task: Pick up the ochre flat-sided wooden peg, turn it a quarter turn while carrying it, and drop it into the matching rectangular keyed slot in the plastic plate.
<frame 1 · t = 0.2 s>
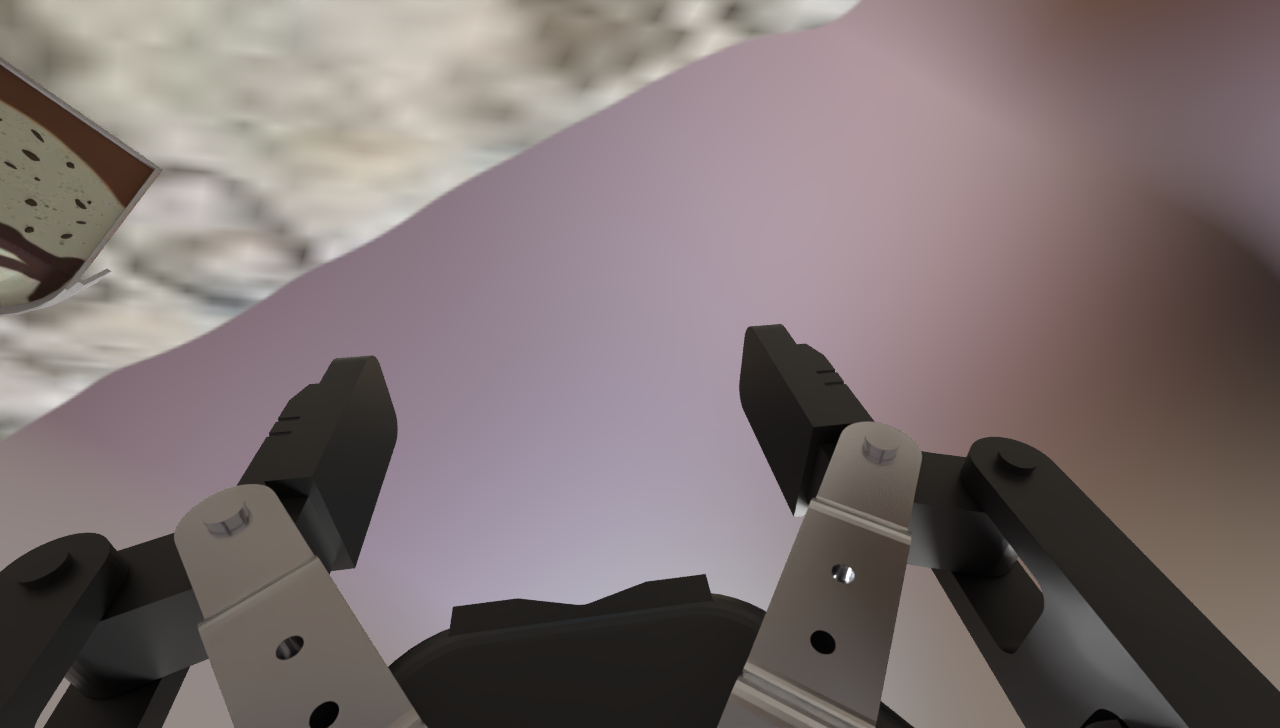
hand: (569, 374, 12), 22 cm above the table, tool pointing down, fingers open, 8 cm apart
food container: (25, 134, 27), on the table
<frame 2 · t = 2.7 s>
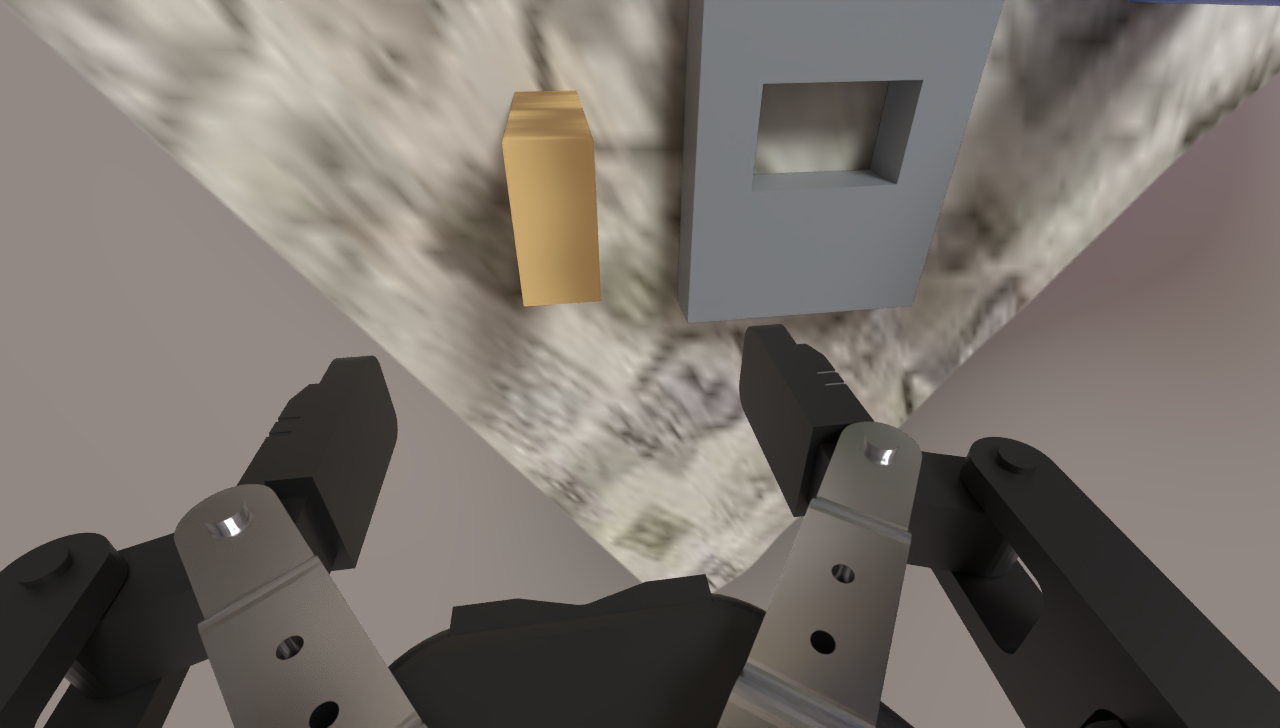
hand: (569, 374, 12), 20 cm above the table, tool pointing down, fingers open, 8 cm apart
keyed peg: (551, 154, 29), on the table
keyed plate: (810, 125, 30), on the table
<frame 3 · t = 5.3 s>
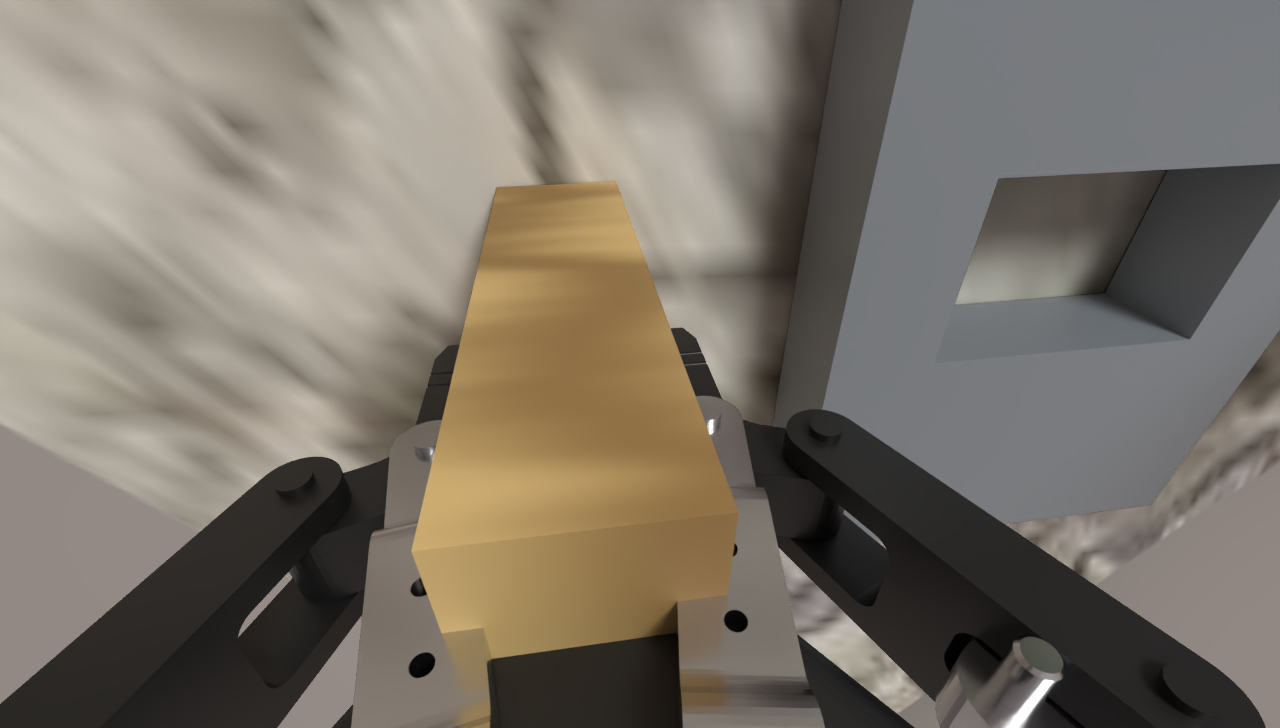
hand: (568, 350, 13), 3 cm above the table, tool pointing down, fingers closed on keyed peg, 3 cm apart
keyed peg: (566, 291, 16), on the table, touching gripper
keyed plate: (1024, 228, 17), on the table
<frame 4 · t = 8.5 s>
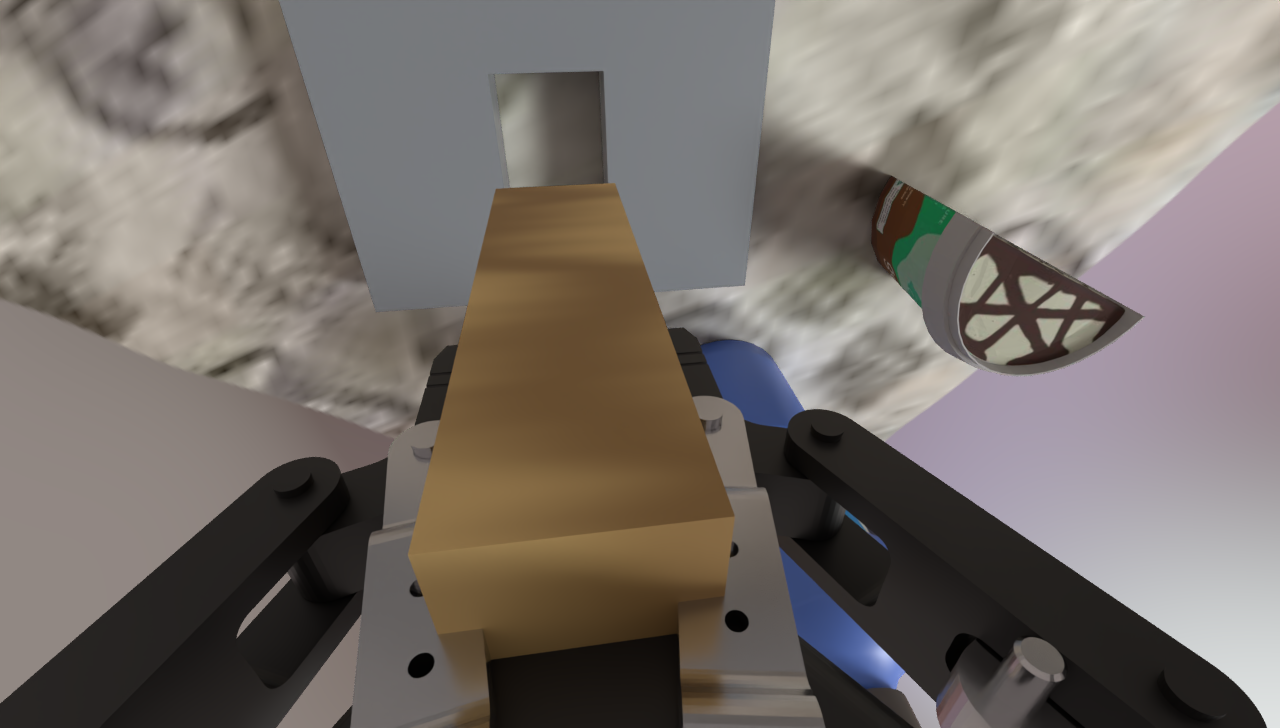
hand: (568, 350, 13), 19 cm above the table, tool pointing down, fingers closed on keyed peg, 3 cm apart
keyed peg: (565, 292, 16), point 16 cm above the table, touching gripper
keyed plate: (554, 151, 29), on the table
water bottle: (717, 392, 40), on the table
food container: (912, 249, 36), on the table
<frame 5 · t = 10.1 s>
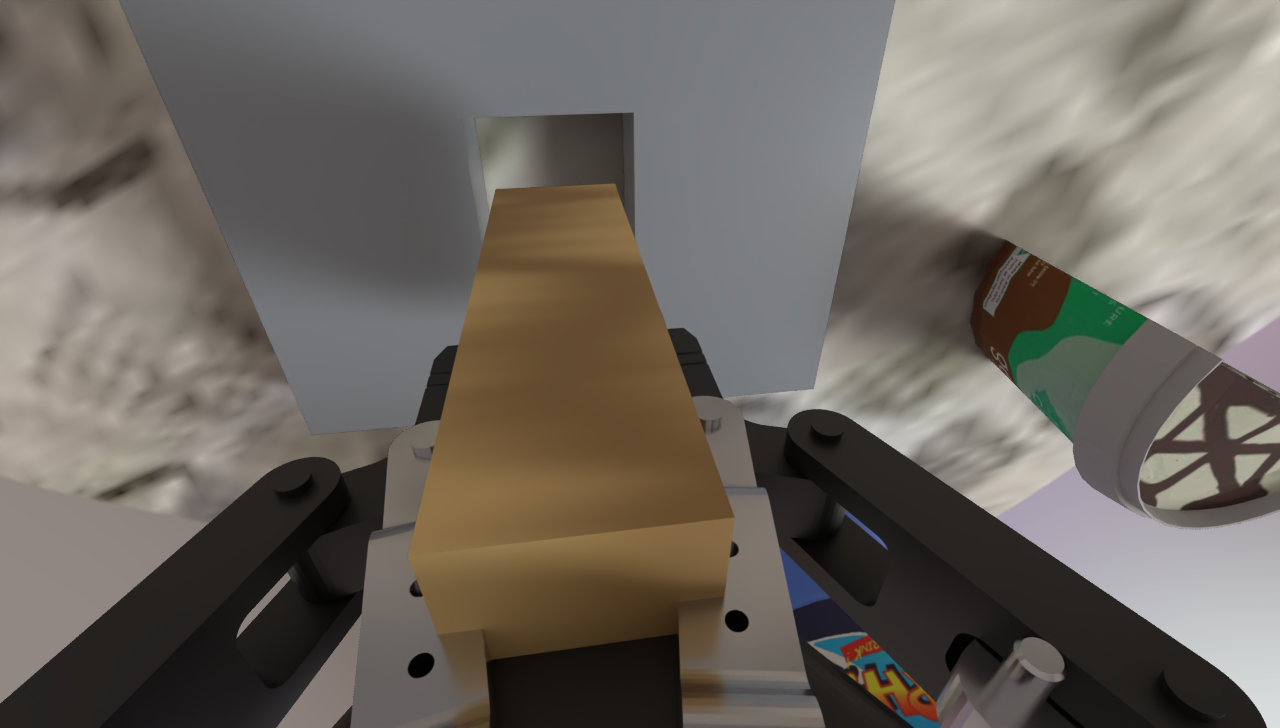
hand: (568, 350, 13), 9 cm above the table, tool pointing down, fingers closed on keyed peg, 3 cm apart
keyed peg: (565, 292, 16), point 6 cm above the table, touching gripper
keyed plate: (558, 215, 21), on the table
water bottle: (761, 496, 32), on the table
food container: (1020, 328, 28), on the table
when the fingers open (4 cm above the table, at t = 11.6 s): keyed peg stays where it is, resting in keyed plate.
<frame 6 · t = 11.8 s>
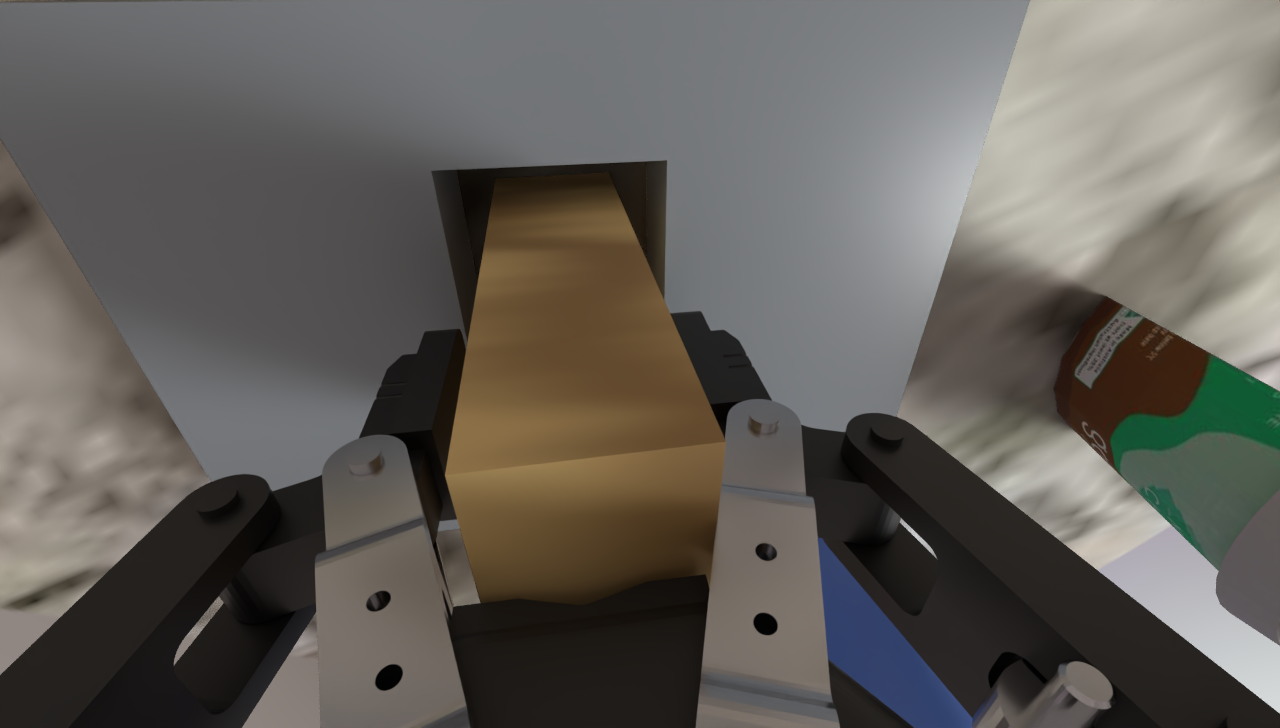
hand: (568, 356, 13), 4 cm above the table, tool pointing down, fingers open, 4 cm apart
keyed peg: (562, 277, 17), resting in keyed plate
keyed plate: (563, 277, 17), on the table
water bottle: (797, 578, 27), on the table
food container: (1109, 393, 23), on the table
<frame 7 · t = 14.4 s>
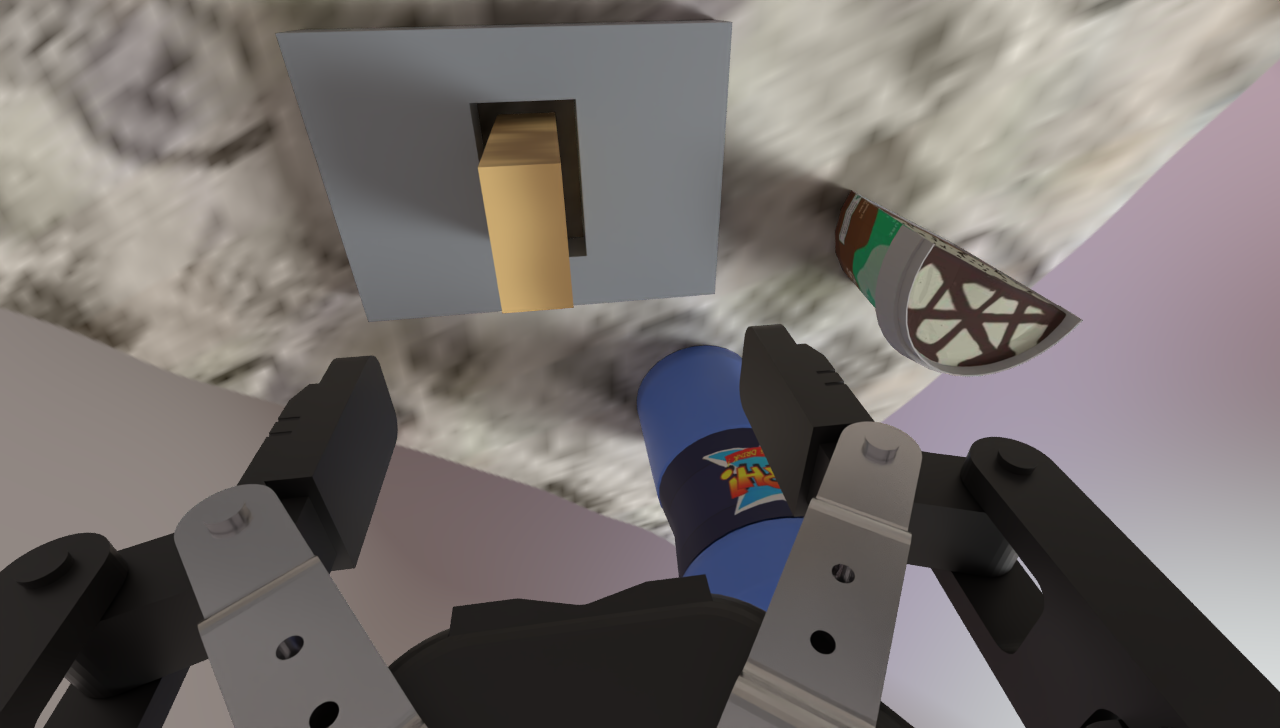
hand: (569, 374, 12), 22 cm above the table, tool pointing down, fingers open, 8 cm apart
keyed peg: (533, 171, 31), resting in keyed plate
keyed plate: (533, 171, 31), on the table
water bottle: (695, 395, 42), on the table
food container: (875, 258, 38), on the table
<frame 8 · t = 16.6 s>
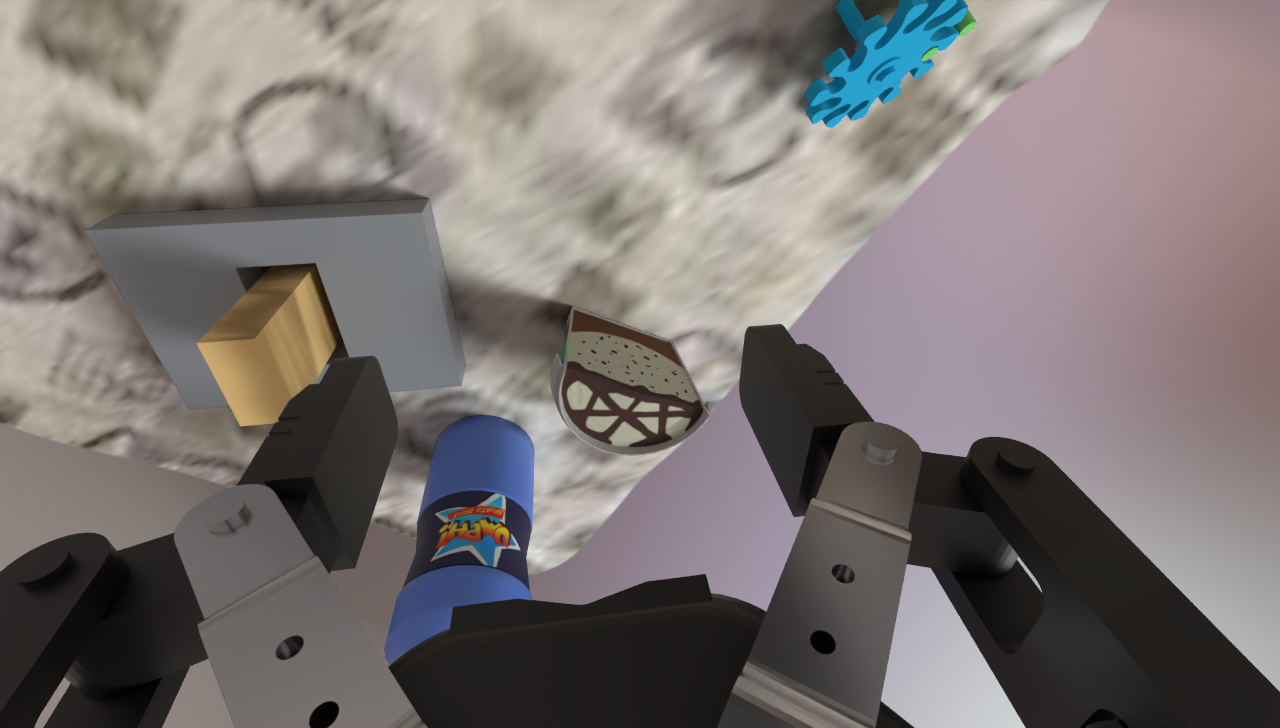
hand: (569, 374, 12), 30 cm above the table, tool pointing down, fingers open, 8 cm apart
keyed peg: (311, 298, 42), resting in keyed plate
keyed plate: (311, 298, 42), on the table
water bottle: (485, 451, 53), on the table
food container: (608, 351, 48), on the table
gear: (859, 53, 38), on the table
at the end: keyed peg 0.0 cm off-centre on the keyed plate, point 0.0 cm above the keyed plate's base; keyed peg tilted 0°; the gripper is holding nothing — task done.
